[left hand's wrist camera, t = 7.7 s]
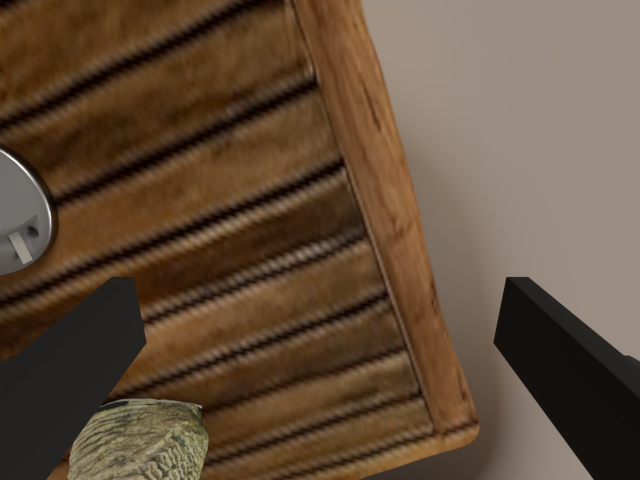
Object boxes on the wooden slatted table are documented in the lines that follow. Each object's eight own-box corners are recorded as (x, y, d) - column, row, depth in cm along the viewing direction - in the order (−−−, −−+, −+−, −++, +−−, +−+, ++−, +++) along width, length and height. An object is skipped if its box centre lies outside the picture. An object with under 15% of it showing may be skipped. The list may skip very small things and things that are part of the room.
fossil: (226, 427, 51) (191, 548, 37) (108, 452, 53) (31, 578, 39) (202, 378, 48) (154, 490, 34) (78, 407, 50) (-17, 526, 36)
